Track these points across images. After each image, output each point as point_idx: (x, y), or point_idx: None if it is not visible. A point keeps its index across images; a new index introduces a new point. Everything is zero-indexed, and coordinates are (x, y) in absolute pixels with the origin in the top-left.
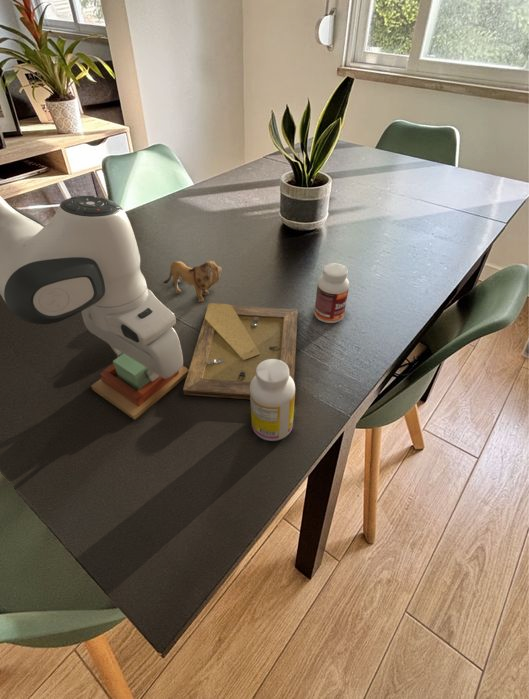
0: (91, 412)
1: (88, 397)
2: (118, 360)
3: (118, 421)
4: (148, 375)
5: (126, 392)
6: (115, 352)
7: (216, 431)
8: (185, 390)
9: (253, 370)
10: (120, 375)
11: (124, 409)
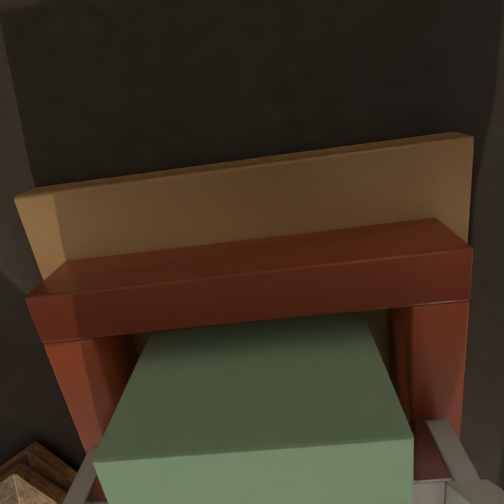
0: (278, 9)
1: (418, 70)
2: (374, 469)
3: (83, 109)
4: (83, 491)
5: (127, 286)
6: (494, 494)
7: None
8: (7, 475)
9: None
10: (328, 340)
11: (100, 188)
